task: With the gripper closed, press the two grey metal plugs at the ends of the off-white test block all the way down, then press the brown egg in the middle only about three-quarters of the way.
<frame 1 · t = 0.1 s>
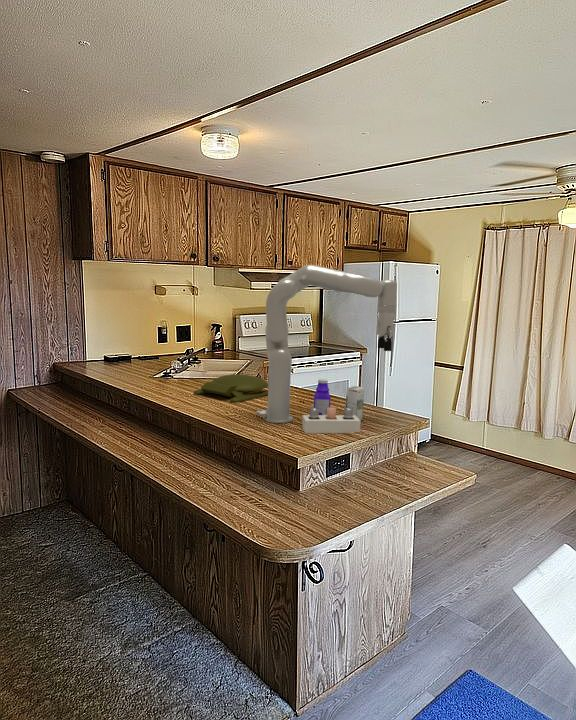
hand: (384, 349, 230), 31 cm above the countertop, tool pointing down, fingers open, 9 cm apart
bottle: (321, 419, 234), on the countertop
test block: (330, 430, 216), on the countertop
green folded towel: (236, 394, 282), on the countertop
syrup box: (353, 420, 233), on the countertop
left grey plug: (314, 414, 215), point 6 cm above the countertop, slide at 0.0 cm
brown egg: (331, 414, 215), point 6 cm above the countertop, slide at 0.0 cm
grey domed plug: (348, 414, 216), point 6 cm above the countertop, slide at 0.0 cm
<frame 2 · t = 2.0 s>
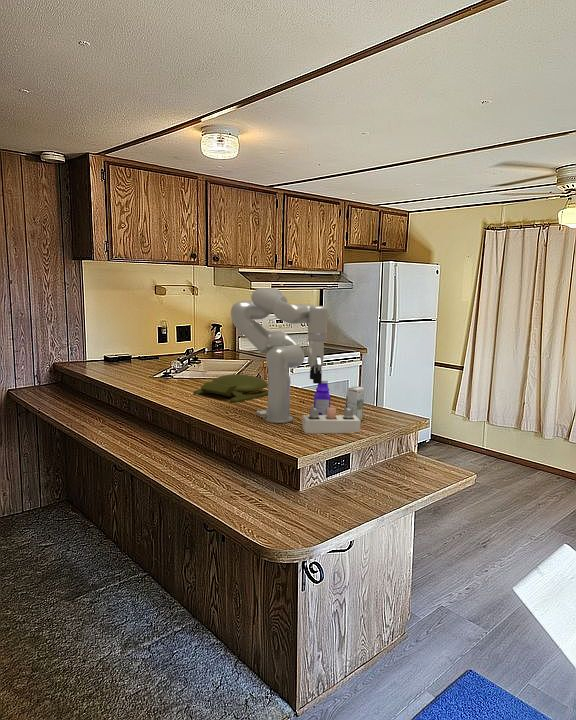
hand: (315, 381, 213), 20 cm above the countertop, tool pointing down, fingers open, 8 cm apart
nothing on the countertop moved.
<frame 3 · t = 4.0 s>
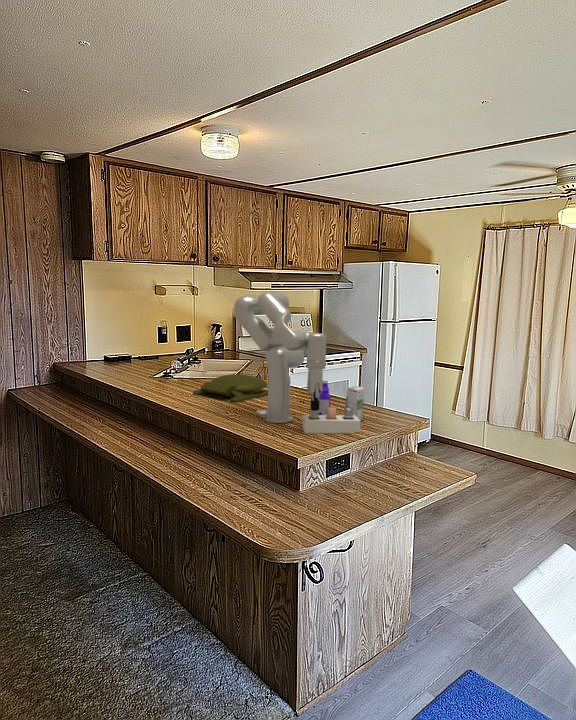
hand: (314, 409, 214), 8 cm above the countertop, tool pointing down, fingers closed
left grey plug: (314, 416, 215), point 6 cm above the countertop, slide at 0.7 cm, touching gripper
everything else where it was.
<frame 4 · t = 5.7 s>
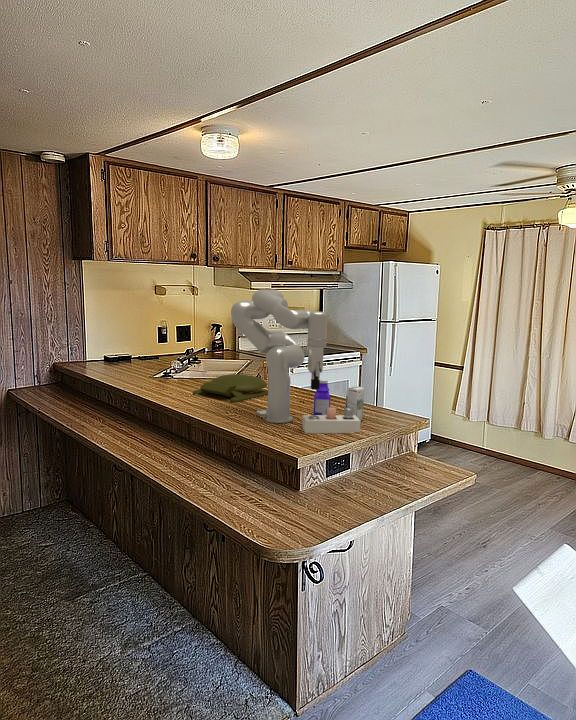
hand: (314, 388, 213), 17 cm above the countertop, tool pointing down, fingers closed
left grey plug: (313, 423, 215), point 3 cm above the countertop, slide at 3.4 cm
everything else where it was.
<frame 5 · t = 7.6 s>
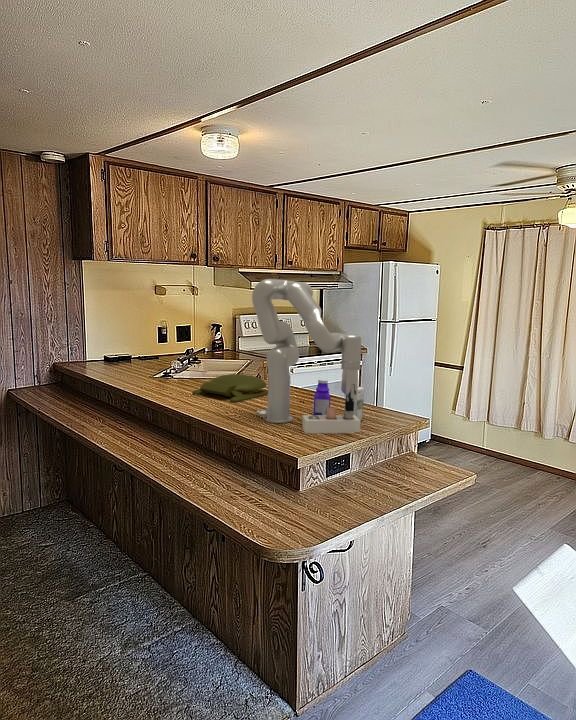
hand: (349, 410, 216), 8 cm above the countertop, tool pointing down, fingers closed
grey domed plug: (348, 416, 216), point 5 cm above the countertop, slide at 0.9 cm, touching gripper
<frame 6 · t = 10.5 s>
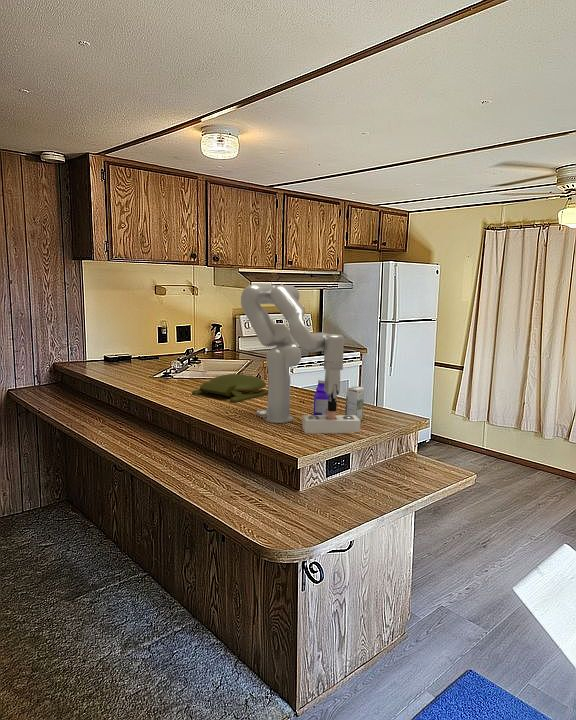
hand: (332, 410, 215), 8 cm above the countertop, tool pointing down, fingers closed
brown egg: (331, 417, 215), point 5 cm above the countertop, slide at 1.0 cm, touching gripper
grey domed plug: (348, 423, 216), point 3 cm above the countertop, slide at 3.4 cm
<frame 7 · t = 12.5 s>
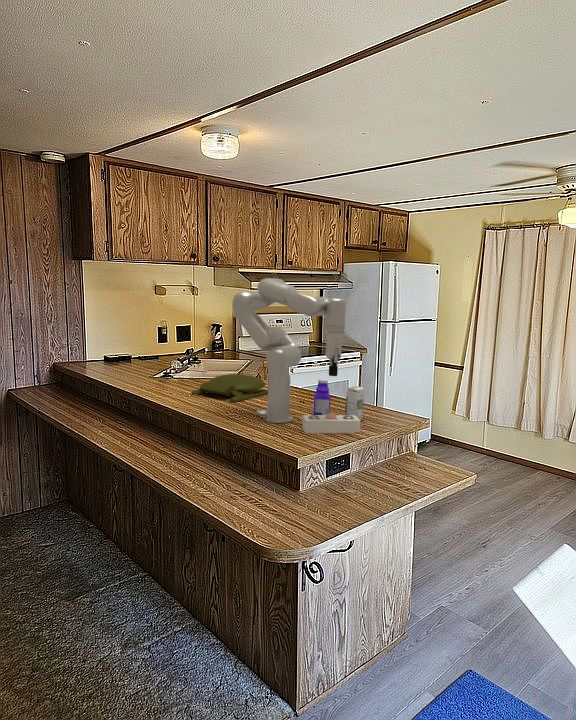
hand: (332, 375, 213), 22 cm above the countertop, tool pointing down, fingers closed
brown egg: (331, 420, 216), point 4 cm above the countertop, slide at 2.5 cm
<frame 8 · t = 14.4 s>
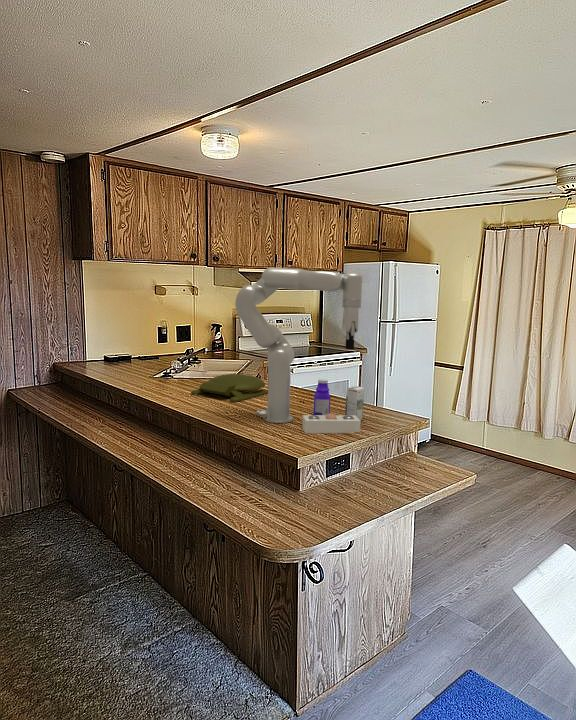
hand: (349, 349, 220), 32 cm above the countertop, tool pointing down, fingers closed
at the end: left grey plug slide at 3.4 cm; grey domed plug slide at 3.4 cm; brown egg slide at 2.5 cm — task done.
